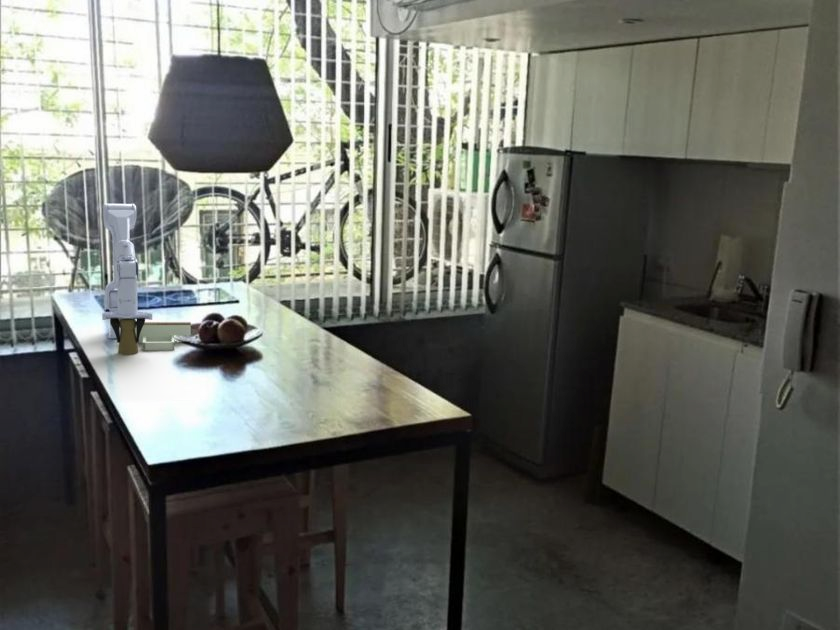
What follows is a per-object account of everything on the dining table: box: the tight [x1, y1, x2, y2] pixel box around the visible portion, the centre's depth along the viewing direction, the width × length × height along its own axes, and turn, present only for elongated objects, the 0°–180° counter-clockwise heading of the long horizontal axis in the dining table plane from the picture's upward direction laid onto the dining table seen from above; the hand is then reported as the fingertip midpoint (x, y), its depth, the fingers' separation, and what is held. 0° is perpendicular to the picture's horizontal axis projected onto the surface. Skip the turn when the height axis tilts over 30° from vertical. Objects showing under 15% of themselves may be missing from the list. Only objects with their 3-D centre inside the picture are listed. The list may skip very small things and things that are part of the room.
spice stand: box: [135, 321, 192, 351], centre depth 265 cm, size 10×20×7 cm, turn 106°
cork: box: [117, 318, 139, 356], centre depth 255 cm, size 6×6×11 cm
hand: (128, 341), depth 256 cm, fingers closed on cork, 5 cm apart
